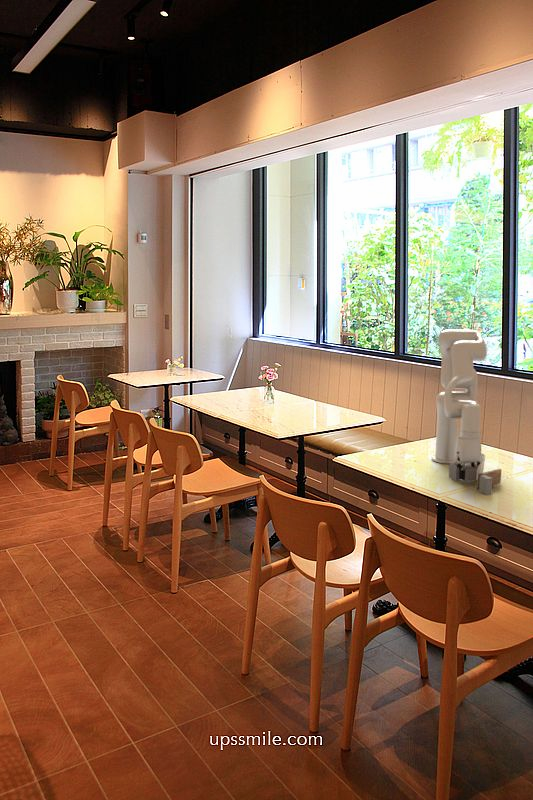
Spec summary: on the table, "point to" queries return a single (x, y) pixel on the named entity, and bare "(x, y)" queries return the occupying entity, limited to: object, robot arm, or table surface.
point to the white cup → (480, 467)
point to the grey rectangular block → (469, 473)
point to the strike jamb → (453, 471)
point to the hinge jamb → (485, 485)
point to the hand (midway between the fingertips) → (467, 477)
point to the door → (493, 474)
